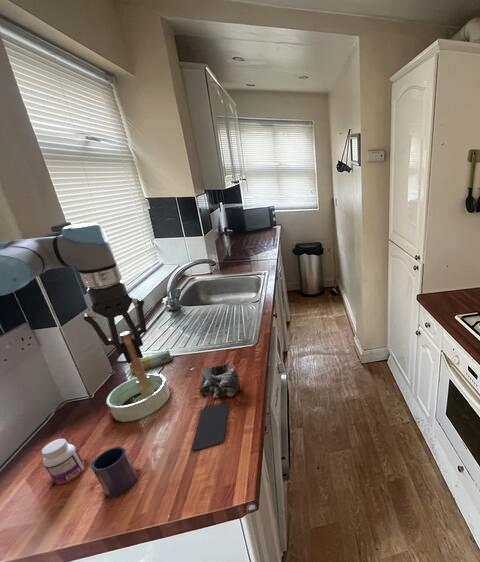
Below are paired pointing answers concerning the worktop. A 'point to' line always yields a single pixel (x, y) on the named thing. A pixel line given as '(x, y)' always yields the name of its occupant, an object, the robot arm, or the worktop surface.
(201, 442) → the phone
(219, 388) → the grey sculpted pot
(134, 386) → the bowl
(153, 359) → the medication box
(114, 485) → the utensil pot
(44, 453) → the pill bottle
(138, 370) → the stirring paddle
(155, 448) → the worktop surface
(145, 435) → the worktop surface
